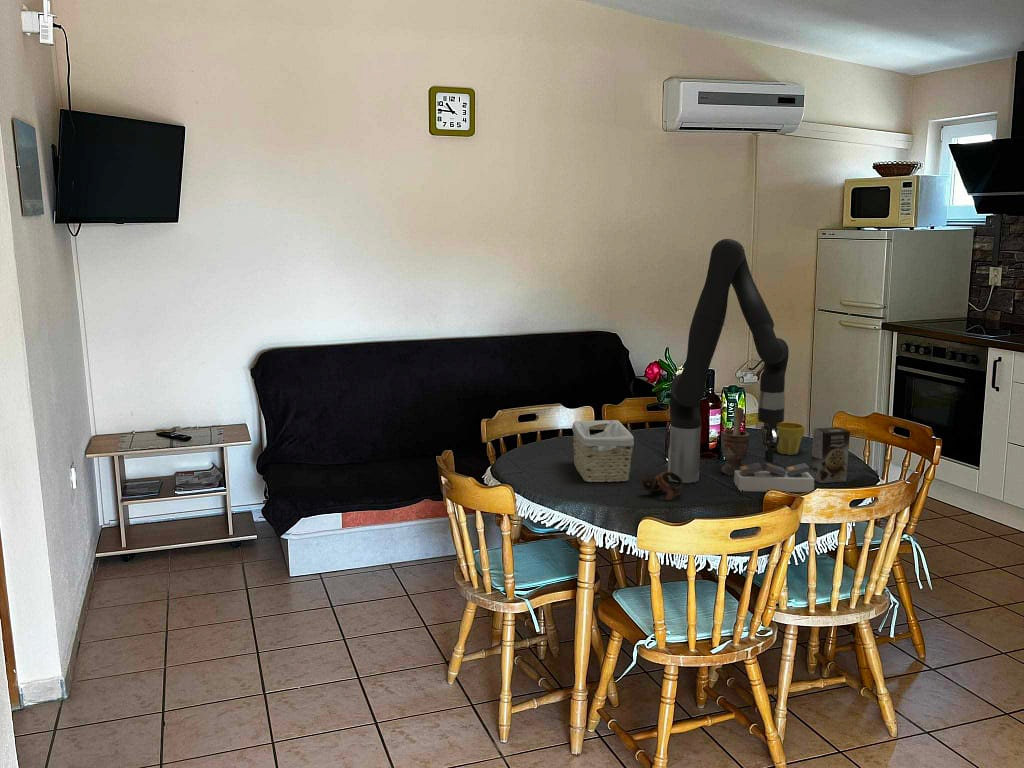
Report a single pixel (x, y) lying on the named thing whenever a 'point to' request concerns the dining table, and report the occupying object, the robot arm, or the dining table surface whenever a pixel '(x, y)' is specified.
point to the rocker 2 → (774, 469)
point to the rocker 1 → (750, 468)
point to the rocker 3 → (797, 469)
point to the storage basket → (602, 450)
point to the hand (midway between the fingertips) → (768, 461)
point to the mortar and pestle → (734, 444)
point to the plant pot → (789, 437)
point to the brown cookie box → (830, 454)
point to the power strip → (773, 481)
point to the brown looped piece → (663, 484)
